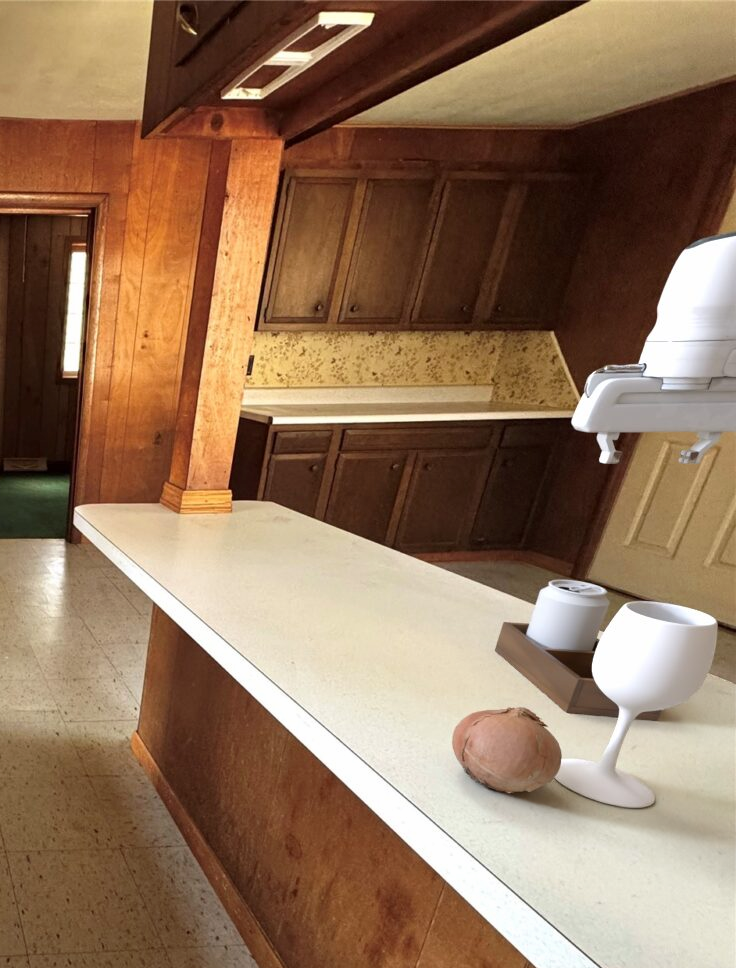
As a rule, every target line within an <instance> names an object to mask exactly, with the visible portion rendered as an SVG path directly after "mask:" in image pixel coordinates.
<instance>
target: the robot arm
mask: <svg viewBox="0 0 736 968" xmlns="http://www.w3.org/2000/svg"><path fill="white" fill-rule="evenodd" d="M656 313H657V314H656V315H657V316H656V317H657V318H656V322H655V324H654V327H653V328H652V330H651V331H650V332H649V334H648V336H647V337H646V339H645V342H644V346H643V349H642V351H641V354H640V358H639V360H638V363H629V364H606V365H604V366H603V367H601V368H598V369H596V370H594V371H593V372H592V373H591V374H589V376H588V377H587V379H586V382H585V385H584V389H583V392H584V393H583V394H582V396H581V398H580V400H579V401H578V404H577V406H576V408H575V411H574V413H573V416H572V417H571V422H570V423H571V425H572V427H573V429H574V430H576V431H579V432H584V433H597V435H596V441H597V443H598V445H599V448H600V450H601V453H600V457H599V460H598V461H599V463H602V464H609V465H610V464H612V465H613V464H616V465H617V464H619V462H620V459H621V457H622V454H623V451H621V450H616V448H615V445H614V441H617V440H618V439H619V436H620V433H696V435H695V437H696V438H697V439H698V440H697V441H696V442H694V444H693V445H692V446H691V447H690V448H689V449H682V450H681V451H680V453H679V454H680V456H679V457H678V459H677V460H678V463H679V464H684V465H697V464H700V463H701V461H702V459H703V456H704V454H705V453H706V452H707V451H708V450H709V449H710V448H712V447H713V446H714V445H715V444H716V443H718V442H719V441H720V439H721V437H722V434H723V433H730V432H731V433H734V432H735V433H736V230H735V231H730V232H729V231H728V232H725V233H721V234H716V235H711V236H707V237H703V238H700V239H698V240H696V241H694V242H693V243H691V244H690V245H688V246H687V247H685V249H684V250H682V252H681V253H680V254H679V256H678V258H677V259H676V261H675V263H674V265H673V267H672V269H671V271H670V273H669V275H668V277H667V280H666V282H665V284H664V287H663V290H662V292H661V295H660V298H659V300H658V303H657V307H656Z"/></svg>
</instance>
